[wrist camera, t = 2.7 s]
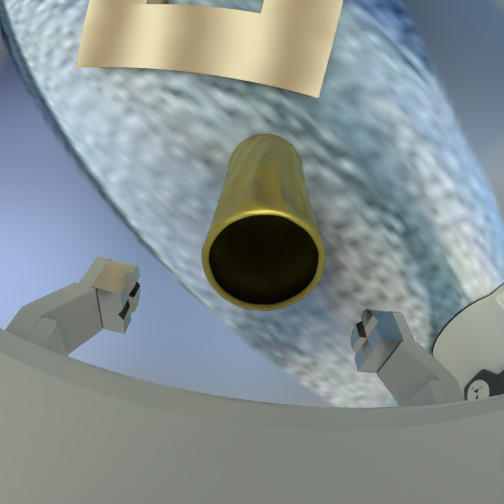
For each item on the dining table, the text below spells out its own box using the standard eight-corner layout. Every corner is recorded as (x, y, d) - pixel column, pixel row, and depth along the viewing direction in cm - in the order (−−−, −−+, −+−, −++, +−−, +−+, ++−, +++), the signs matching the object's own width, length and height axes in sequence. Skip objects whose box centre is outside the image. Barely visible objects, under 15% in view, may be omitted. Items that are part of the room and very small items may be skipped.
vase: (316, 162, 24) (364, 251, 12) (273, 215, 27) (277, 336, 15) (256, 119, 23) (242, 165, 11) (215, 178, 26) (167, 277, 13)
